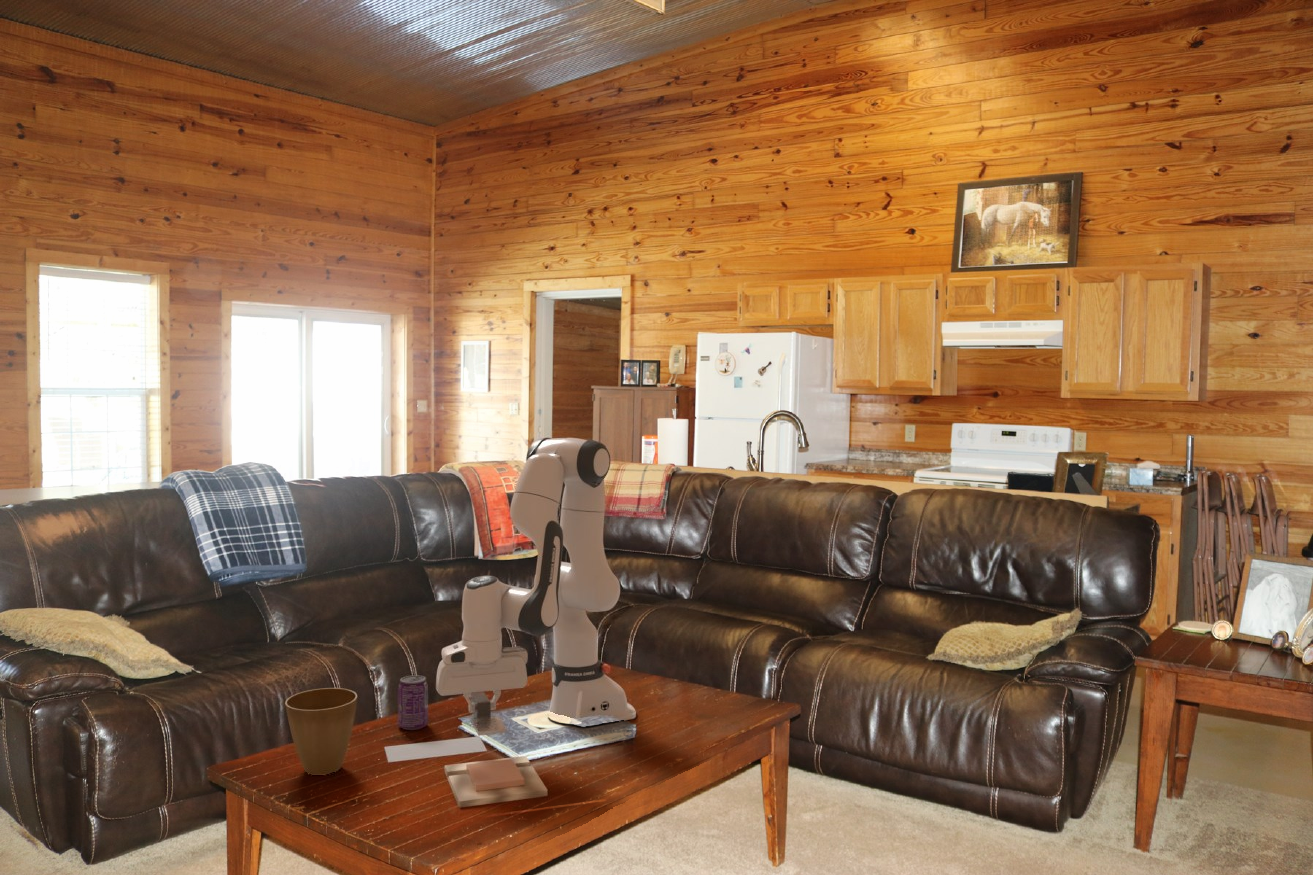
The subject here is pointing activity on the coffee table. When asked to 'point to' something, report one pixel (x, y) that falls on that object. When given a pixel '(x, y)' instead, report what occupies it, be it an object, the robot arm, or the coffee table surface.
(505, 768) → the tile
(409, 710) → the beverage can
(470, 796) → the tile stand
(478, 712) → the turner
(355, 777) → the coffee table surface
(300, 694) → the plant pot
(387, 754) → the tool mat
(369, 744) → the coffee table surface
